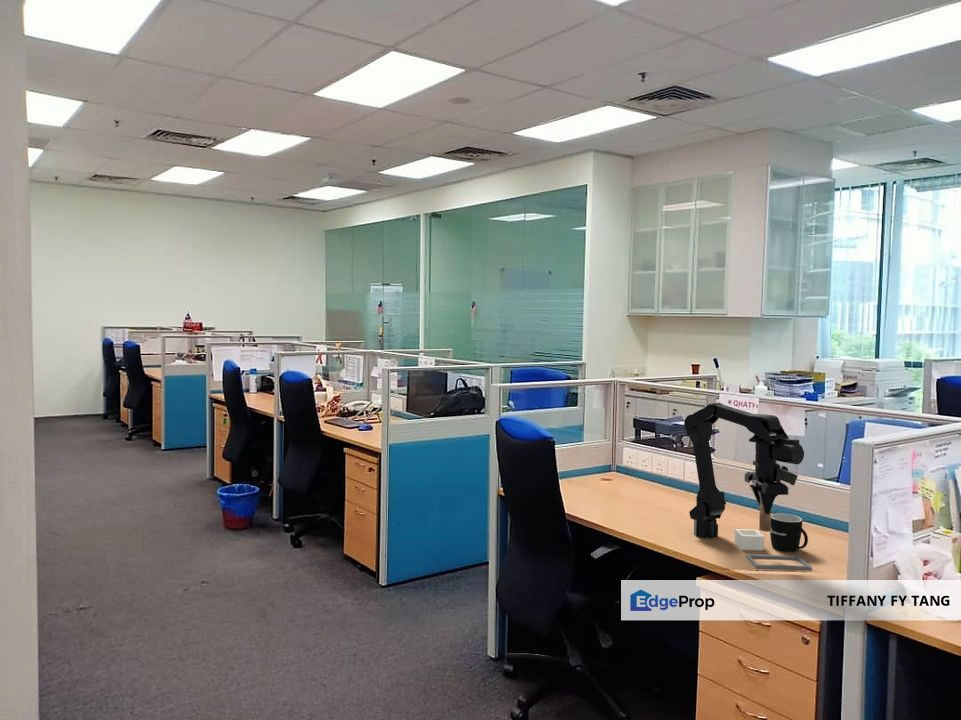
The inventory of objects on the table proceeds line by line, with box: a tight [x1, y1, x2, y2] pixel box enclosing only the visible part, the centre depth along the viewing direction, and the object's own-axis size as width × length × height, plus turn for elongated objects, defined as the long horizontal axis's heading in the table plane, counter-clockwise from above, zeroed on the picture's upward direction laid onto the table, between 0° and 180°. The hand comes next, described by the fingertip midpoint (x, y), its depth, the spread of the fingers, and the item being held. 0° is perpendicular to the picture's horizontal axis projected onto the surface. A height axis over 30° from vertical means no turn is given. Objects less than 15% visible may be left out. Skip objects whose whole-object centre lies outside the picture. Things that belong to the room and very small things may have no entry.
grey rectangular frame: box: [745, 553, 813, 573], centre depth 195 cm, size 15×9×2 cm, turn 86°
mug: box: [769, 513, 809, 553], centre depth 206 cm, size 12×9×10 cm
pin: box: [758, 500, 772, 533], centre depth 201 cm, size 3×3×9 cm
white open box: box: [733, 528, 765, 551], centre depth 209 cm, size 7×7×5 cm
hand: (765, 512), depth 201 cm, fingers closed on pin, 3 cm apart
